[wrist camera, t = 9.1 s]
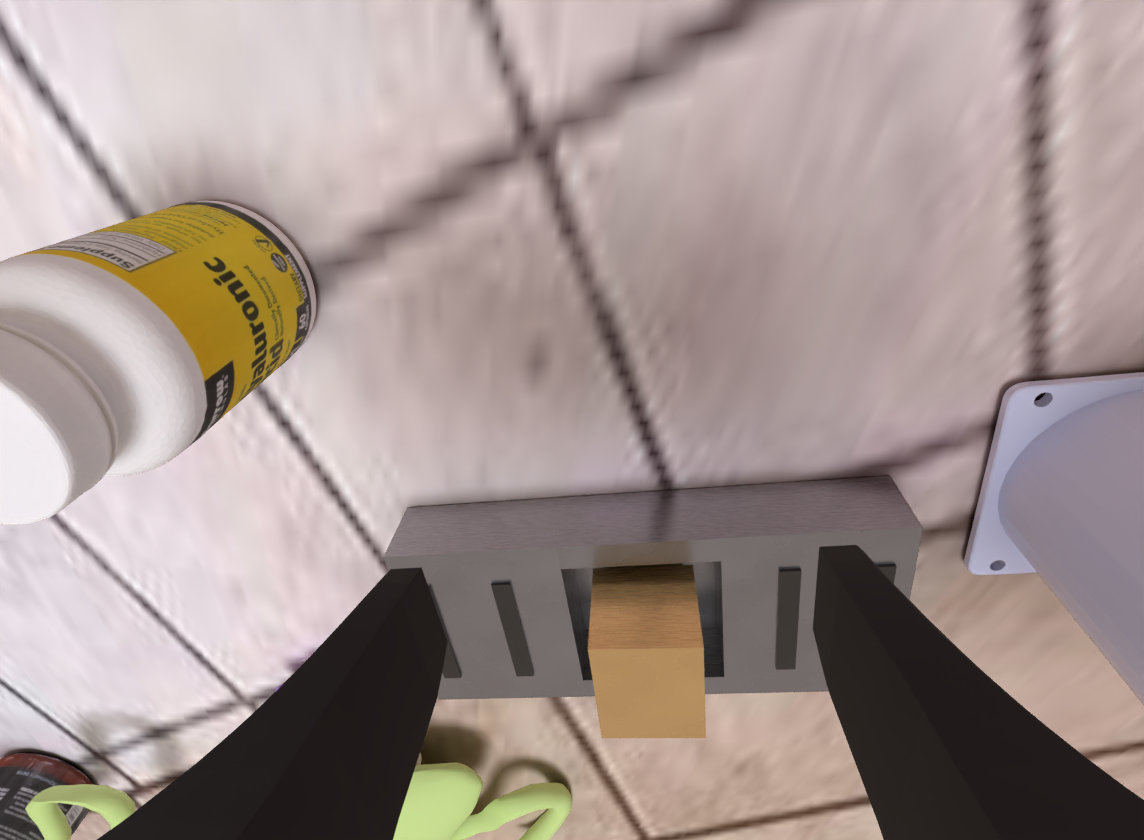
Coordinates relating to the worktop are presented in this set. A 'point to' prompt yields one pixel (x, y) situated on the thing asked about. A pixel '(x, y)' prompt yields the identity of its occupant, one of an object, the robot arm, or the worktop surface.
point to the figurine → (424, 825)
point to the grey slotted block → (645, 537)
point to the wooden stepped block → (647, 652)
